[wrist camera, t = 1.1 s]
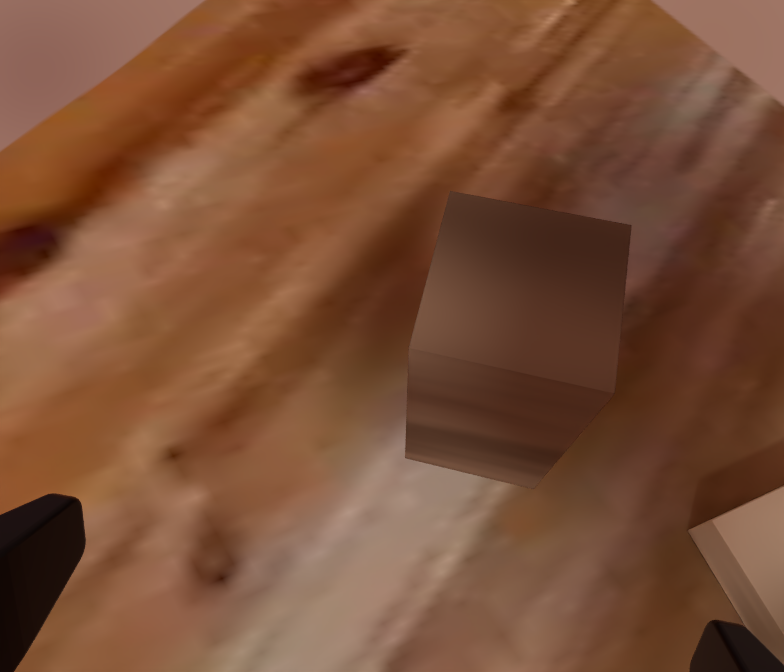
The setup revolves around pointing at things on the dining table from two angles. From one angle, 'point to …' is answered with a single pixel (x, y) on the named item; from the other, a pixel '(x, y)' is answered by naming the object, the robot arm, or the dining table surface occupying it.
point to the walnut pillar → (514, 337)
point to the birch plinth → (750, 563)
